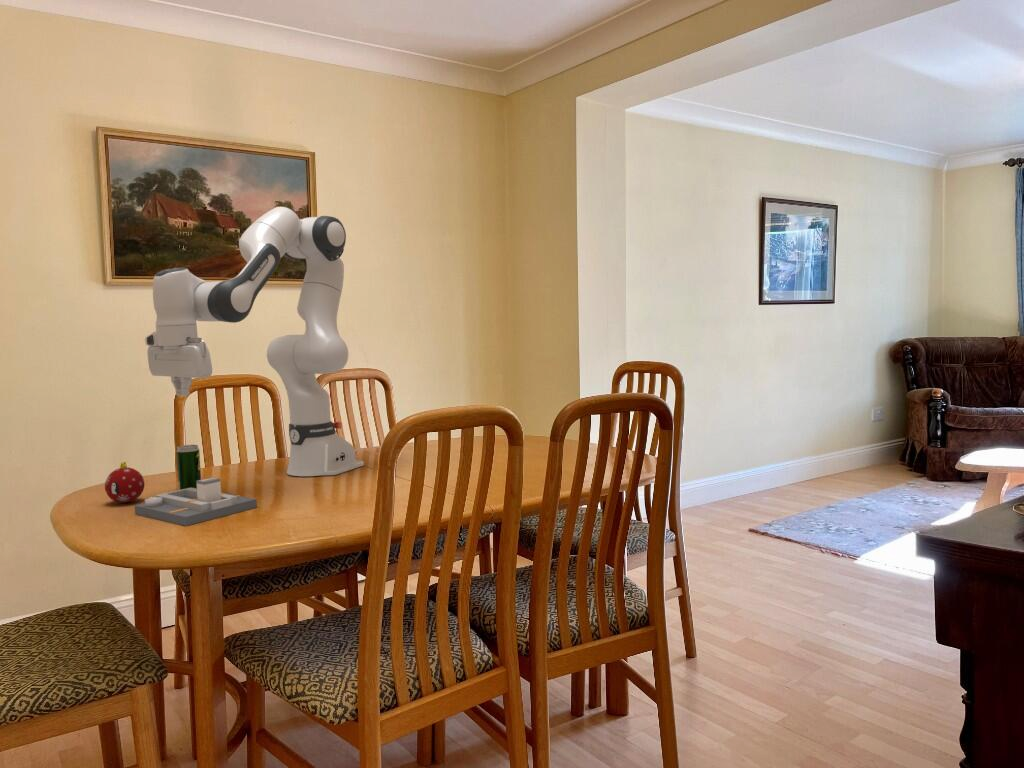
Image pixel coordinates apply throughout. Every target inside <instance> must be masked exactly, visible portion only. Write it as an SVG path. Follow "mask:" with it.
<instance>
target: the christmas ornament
mask: <svg viewBox="0 0 1024 768" xmlns="http://www.w3.org/2000/svg"><path fill="white" fill-rule="evenodd" d="M144 489H145V478H144V476H143V475H142V474H141V473H140V471H138V470H137V469H135V468H132V467H128V466H127V463H126V461H122V462H121V463H120V465H119V468H117V469H114V470H113V471H112V472H110V473H109V474H108V476H107V477H106V479H105V483H104V490H105V491H104V492H105V493H106V495H107V497H108V498H109V499H110V500H111V501H113V502H116V503H119V504H128V503H131V502H134V501H135V500H137V499H138V498H139V497H140V496H141V495H142V493H143V492H144Z"/></svg>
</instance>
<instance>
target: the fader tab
mask: <svg viewBox="0 0 1024 768" xmlns="http://www.w3.org/2000/svg"><path fill="white" fill-rule="evenodd" d="M196 482H197V498H198V501H203V502H208V503H211V502H215V501H219V500H221V492H222V487H221V484H222V483H221V478H219V477H213V476H212V477H208V478H204V479H203V478H201V480H198V481H196Z"/></svg>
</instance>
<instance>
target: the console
mask: <svg viewBox="0 0 1024 768" xmlns="http://www.w3.org/2000/svg"><path fill="white" fill-rule="evenodd" d="M257 500H258V499H257V498H254V497H249V496H245V495H243V496H242V495H239V494H232V493H227V492H223V491H221V500H219V501H215V502H211V503H208V502H203V501H198V498H197V489H196V488H186V489H182V490H179V489H177V490H174V491H170V492H169V491H168V492H164V493H160V494H155V496H153V497H152V496H151V497H148V498H145V499H144V503H140V504H139V503H138V504H136V505H134V514H135V515H136V516H137V515H138V516H141V517H146V518H149V519H150V518H151V519H154V520H159V521H163V522H167V523H172V524H175V525H180V526H184V527H188V526H191V525H197V524H200V523H204V522H206V521H208V522H209V521H211V520H215V519H218V518H223V517H226V516H230V515H234V514H237V513H241V512H245V511H249V510H252V509H256V508H258V501H257Z"/></svg>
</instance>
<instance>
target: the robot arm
mask: <svg viewBox="0 0 1024 768" xmlns="http://www.w3.org/2000/svg"><path fill="white" fill-rule="evenodd" d="M346 235H347V233H346V229H345V227H344V224H343V223H342V222H341V220H340V219H339V218H336V217H334V216H330V215H321V216H310V217H303V218H301V219H300V218H299V216H298V215H297V213H295V211H293V210H292V209H291V208H289V207H286V206H277V207H274V208H272V209H270V210H268V211H267V212H265V213H263V214H262V215H261V216H259V218H257V219H256V220H255V221H253V223H252V224H250V226H248V227H247V228H246V230H245V231H244V232H243V233H242V235H241V236H240V238H239V240H238V248H239V253H240V254H241V256H242V258H243V259H244V261H245V262H246V264H245V266H244V267H243V268H242V270H241V271H240V272H239V273H238V274H237V275H236V276H235V277H233V278H228V279H226V280H218V281H217V280H216V281H206V280H205V279H202V278H200V277H198V276H196V275H195V274H193V273H192V272H191V271H190V270H189V269H188V268H186V267H174V268H168V269H167V268H166V269H163V270H160V271H158V272H156V273H155V275H154V276H153V281H152V300H153V301H152V302H153V309H154V311H155V314H156V322H155V330H154V331H153V332H151V333H150V334H148V335H147V336H145V338H144V342H145V346H147V347H148V348H147V361H148V362H147V363H148V369H149V372H150V373H151V375H152V376H153V377H170V381H171V384H172V385H173V387H174V389H175V395H176V396H177V397H178V396H180V397H189V395H191V394H190V393H191V392H190V387H191V385H192V382H193V378H194V379H201V378H204V379H205V378H210V377H211V376H212V373H213V365H212V360H211V358H212V357H211V353H210V350H209V348H208V346H207V343H206V342H205V341H204V340H203V339H202V337H199V336H198V326H197V321H198V322H224V323H234V324H235V323H239V322H241V321H243V320H245V319H246V318H248V316H249V315H250V313H251V311H252V308H253V306H254V303H255V301H256V299H257V296H258V295H259V293H260V292H261V291H262V289H263V287H264V286H265V285H266V284H267V282H268V280H270V278H271V277H272V276H273V274H274V273H275V272H276V270H277V268H278V267H279V266H280V262H281V259H282V258H283V257H285V258H286V259H291V260H300V259H305V261H306V272H305V274H304V276H303V277H304V278H303V282H302V286H301V289H300V294H299V298H298V302H297V306H296V310H297V314H298V315H299V317H300V319H302V320H303V321H304V322H305V332H304V334H287V335H282V336H279V337H276V338H274V339H272V340H271V341H270V342H269V343H268V345H267V349H266V358H267V362H268V364H269V366H270V367H271V368H273V369H274V371H276V372H277V373H276V374H278V376H279V377H280V379H281V381H282V383H283V385H284V388H285V390H286V394H287V399H288V408H289V409H288V410H289V424H288V436H289V440H290V448H289V449H290V450H289V461H288V466H287V470H286V474H287V475H288V476H292V477H316V476H318V477H319V476H336V475H340V474H342V473H346V472H348V471H351V470H354V469H357V468H360V467H363V466H365V461H363V460H359V459H356V451H355V448H354V447H355V446H353V444H351V443H350V442H348V441H347V440H346V439H344V438H343V437H342V436H340V435H339V434H338V433H337V431H336V429H338V430H340V429H342V428H343V423H342V421H334V422H333V421H332V420H331V405H330V404H331V403H330V401H331V400H330V394H329V393H328V390H326V389H324V388H323V387H322V386H321V385H320V384H319V382H318V380H317V377H316V375H317V374H318V375H327V374H331V373H336V372H339V371H341V370H343V369H344V368H345V366H346V365H347V363H348V360H349V348H348V345H347V344H346V342H345V340H344V339H343V338H342V336H341V335H340V333H339V330H338V324H337V321H338V318H337V317H338V311H339V308H340V307H339V306H340V302H341V296H342V292H343V285H344V276H345V266H344V262H343V260H342V259H341V258H340V257H342V256H343V253H344V252H345V250H344V249H345V247H346V241H347V240H346V239H347V236H346ZM273 369H272V370H273Z"/></svg>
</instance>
